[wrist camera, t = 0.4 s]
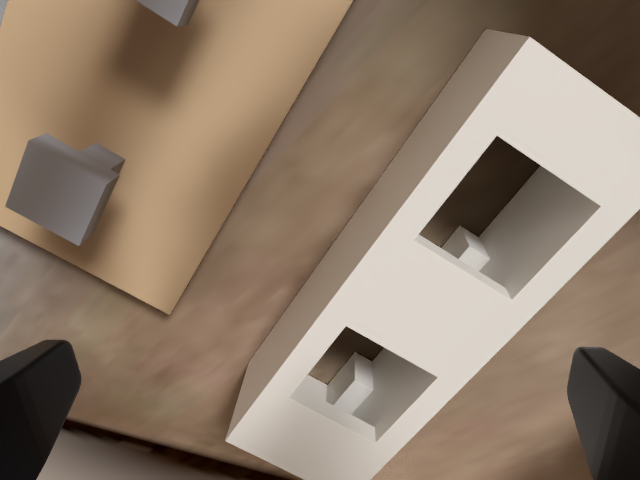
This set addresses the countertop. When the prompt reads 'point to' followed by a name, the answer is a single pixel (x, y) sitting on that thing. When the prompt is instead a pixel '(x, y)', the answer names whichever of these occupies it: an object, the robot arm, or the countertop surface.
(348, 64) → the countertop surface
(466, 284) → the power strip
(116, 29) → the mounting board
